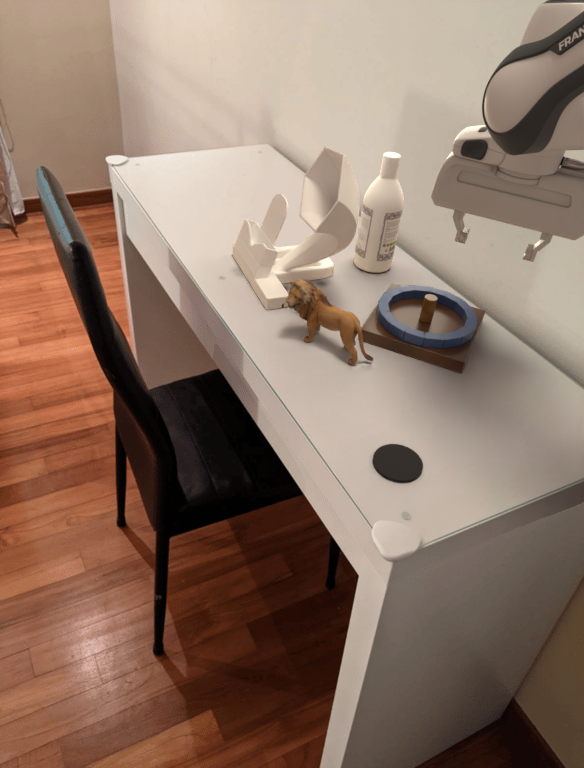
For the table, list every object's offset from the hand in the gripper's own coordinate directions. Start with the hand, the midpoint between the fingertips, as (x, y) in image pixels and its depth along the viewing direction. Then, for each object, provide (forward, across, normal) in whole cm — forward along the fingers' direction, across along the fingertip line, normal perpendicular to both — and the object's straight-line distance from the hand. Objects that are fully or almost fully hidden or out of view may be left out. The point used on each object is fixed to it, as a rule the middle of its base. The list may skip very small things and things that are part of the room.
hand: (493, 250), depth 85 cm
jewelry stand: (+16, +29, -2) cm, 33 cm away
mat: (+16, +2, +30) cm, 34 cm away
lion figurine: (+16, +19, +12) cm, 27 cm away
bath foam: (+16, +21, -16) cm, 31 cm away
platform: (+16, +7, 0) cm, 17 cm away
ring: (+14, +7, 0) cm, 15 cm away
